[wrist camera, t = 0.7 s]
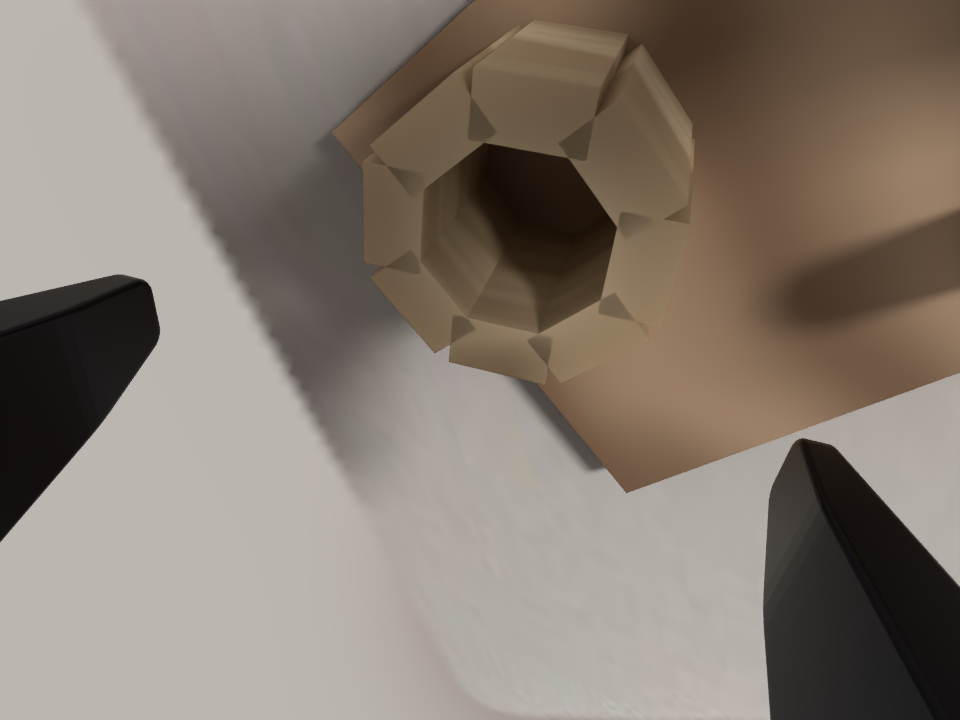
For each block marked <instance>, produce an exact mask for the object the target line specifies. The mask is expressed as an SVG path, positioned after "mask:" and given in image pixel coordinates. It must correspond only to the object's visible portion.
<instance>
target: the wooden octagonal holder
mask: <svg viewBox="0 0 960 720" xmlns="http://www.w3.org/2000/svg"><path fill="white" fill-rule="evenodd" d="M627 38H628V34H624V33H617V32H610V31H604V30H597V29H590V28H584V27H577V26H571V25H564V24H557V23H551V22H544V21H538V20H533V21H532V22H531V23H529V24H528V25H527V26H525V27H524V28H523V29H522V28H521V27H520V26H519V25H517V26H516V27H515V28H513V29H512V30H511V31H509V32H508V33H506V34H505V35H504V36H502V37H501V38H500V39H498V40H497V41H496V42H494V43H493V44H491V45H490V46H489V47H487V48H486V49H485V50H483V51H482V52H481V53H479V54H478V55H476V56H475V57H474V58H472V59H471V60H470V61H468V62H467V63H466V64H464V65H463V66H462V67H460V68H459V69H457V70H456V71H455V72H453V73H452V74H451V75H450V76H449V77H448V78H446V79H445V80H444V81H443V82H442V83H441V84H440V85H438V86H437V87H436V88H435V89H434V90H433V91H431V92H430V93H429V94H428V95H427V96H426V97H425V98H423V99H422V100H421V101H420V102H419V103H418V104H417V105H415V106H414V107H413V108H412V109H411V110H410V111H408V112H407V113H406V114H405V115H404V116H403V117H402V118H400V119H399V120H398V121H397V122H396V123H395V124H394V125H392V126H391V127H390V128H389V129H388V130H387V131H385V132H384V133H383V134H382V135H381V136H380V137H379V138H377V139H376V140H375V141H374V142H373V143H372V144H370V146H371V147H372V149H373V150H374V151H375V152H374V153H373V154H372V155H370V156H369V157H368V158H367V159H365V160H364V161H363V263H368V264H372V265H377V266H380V267H379V268H378V269H377V270H376V272H375V273H374V274H373V275H372V276H371V277H370V279H371V280H372V281H373V282H374V284H375V285H376V286H377V287H378V288H379V289H380V291H381V292H382V293H383V294H384V295H385V296H386V298H387V299H388V300H389V301H390V302H391V303H392V304H393V306H394V307H395V308H396V309H397V310H398V311H399V313H400V314H401V315H402V316H403V317H404V318H405V320H406V321H407V322H408V323H409V324H410V325H411V326H412V328H413V329H414V330H415V331H416V332H417V333H418V335H419V336H420V337H421V338H422V339H423V340H424V341H425V343H426V344H427V345H428V346H429V347H430V348H431V350H432V351H433V352H434V353H436V352H438V351H440V350H441V349H443V348H445V347H446V346H448V345H450V355H449V362H451V363H456V364H460V365H464V366H468V367H472V368H477V369H481V370H485V371H489V372H494V373H498V374H502V375H506V376H510V377H515V378H519V379H523V380H527V381H531V382H536V383H540V384H544V385H545V382H546V378H547V375H548V372H549V369H550V370H551V371H552V373H553V374H554V375H555V376H556V378H557V379H558V380H559V381H560V383H562V382H564V381H566V380H568V379H570V378H572V377H574V376H577V375H579V374H581V373H583V372H585V371H587V370H589V369H591V368H593V367H595V366H597V365H599V364H601V363H603V362H605V361H607V360H609V359H611V358H613V357H615V356H618V355H620V354H622V353H624V352H626V351H628V350H630V349H632V348H634V347H636V346H638V345H640V344H642V343H644V342H646V341H648V340H649V338H650V330H651V325H653V326H657V327H661V324H662V321H663V317H664V314H665V311H666V307H667V304H668V300H669V297H670V294H671V290H672V287H673V283H674V280H675V277H676V273H677V270H678V266H679V263H680V259H681V256H682V253H683V249H684V246H685V242H686V239H687V236H688V232H689V229H690V225H691V208H692V187H693V165H694V144H695V139H692V126H693V124H692V122H691V121H690V119H689V117H688V116H687V114H686V113H685V111H684V109H683V108H682V106H681V105H680V103H679V101H678V100H677V98H676V97H675V95H674V93H673V92H672V90H671V89H670V87H669V85H668V84H667V82H666V81H665V79H664V77H663V76H662V74H661V73H660V71H659V70H658V68H657V66H656V65H655V63H654V62H653V60H652V58H651V57H650V55H649V54H648V52H647V50H646V49H645V47H644V46H643V44H640V45H639V46H638V47H636V48H635V49H634V50H632V51H631V52H630V53H628V54H627V55H626V56H624V53H625V48H626V43H627ZM488 144H494V145H499V146H505V147H510V148H516V149H521V150H527V151H532V152H538V153H543V154H549V155H554V156H560V157H565V158H569V159H570V161H571V162H572V164H573V165H574V167H575V168H576V169H577V171H578V172H579V174H580V175H581V176H582V178H583V179H584V181H585V182H586V184H587V185H588V186H589V188H590V189H591V191H592V192H593V194H594V195H595V196H596V198H597V199H598V201H599V202H600V203H601V205H602V206H603V208H604V209H605V211H606V212H607V213H608V214H607V215H606V216H604V217H603V218H601V219H599V220H598V221H596V222H595V223H593V224H591V225H590V226H588V227H586V228H585V229H583V230H582V231H580V232H578V233H577V234H574V233H569V232H564V231H559V230H554V229H549V228H544V227H539V226H534V225H529V224H524V223H520V222H519V221H518V219H517V218H516V217H515V216H514V214H513V213H512V212H511V210H510V209H509V208H508V206H507V205H506V204H505V202H504V201H503V200H502V198H501V197H500V196H499V194H498V193H497V192H496V190H495V189H494V188H493V186H492V185H491V184H490V182H489V181H488V180H487V178H486V177H485V172H486V162H487V152H488Z"/></svg>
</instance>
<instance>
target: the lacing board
mask: <svg viewBox="0 0 960 720" xmlns="http://www.w3.org/2000/svg"><path fill="white" fill-rule="evenodd" d="M533 20H538V21H544V22H551V23H557V24H564V25H571V26H577V27H584V28H590V29H597V30H604V31H610V32H617V33H624V34H628V38H627V43H626V48H625V53H624V56H626V55H627V54H628V53H630V52H631V51H632V50H634V49H635V48H636V47H638V46H639V45H640V44H643V46H644V47H645V49H646V50H647V52H648V54H649V55H650V57H651V58H652V60H653V62H654V63H655V65H656V66H657V68H658V70H659V71H660V73H661V74H662V76H663V77H664V79H665V81H666V82H667V84H668V85H669V87H670V89H671V90H672V92H673V93H674V95H675V97H676V98H677V100H678V101H679V103H680V105H681V106H682V108H683V109H684V111H685V113H686V114H687V116H688V117H689V119H690V121H691V122H692V124H693V126H692V139H695V144H694V165H693V187H692V208H691V225H690V229H689V232H688V236H687V239H686V242H685V246H684V249H683V253H682V256H681V259H680V263H679V266H678V270H677V273H676V277H675V280H674V283H673V287H672V290H671V294H670V297H669V300H668V304H667V307H666V311H665V314H664V317H663V321H662V324H661V327H657V326H653V325H651V330H650V338H649V340H648V341H646V342H644V343H642V344H640V345H638V346H636V347H634V348H632V349H630V350H628V351H626V352H624V353H622V354H620V355H618V356H615V357H613V358H611V359H609V360H607V361H605V362H603V363H601V364H599V365H597V366H595V367H593V368H591V369H589V370H587V371H585V372H583V373H581V374H579V375H577V376H574V377H572V378H570V379H568V380H566V381H564V382H562V383H560V381H559V380H558V379H557V378H556V376H555V375H554V374H553V373H552V371H551V370H550V369H549V372H548V375H547V378H546V382H545V385H544V384H540V383H537V384H538V386H539V387H540V388H541V389H542V390H543V392H544V393H545V394H546V395H547V397H548V398H549V399H550V400H551V401H552V403H553V404H554V405H555V406H556V408H557V409H558V410H559V411H560V412H561V414H562V415H563V416H564V417H565V419H566V420H567V421H568V422H569V423H570V425H571V426H572V427H573V428H574V430H575V431H576V432H577V433H578V434H579V436H580V437H581V438H582V439H583V441H584V442H585V443H586V444H587V445H588V447H589V448H590V449H591V450H592V452H593V453H594V454H595V455H596V456H597V458H598V459H599V460H600V461H601V463H602V464H603V465H604V466H605V467H606V469H607V470H608V471H609V472H610V474H611V475H612V476H613V477H614V478H615V480H616V481H617V482H618V483H619V485H620V486H621V487H622V488H623V489H624V491H625V492H626V493H628V492H631V491H633V490H636V489H639V488H642V487H645V486H647V485H650V484H653V483H656V482H658V481H661V480H664V479H667V478H669V477H672V476H675V475H678V474H681V473H683V472H686V471H689V470H692V469H694V468H697V467H700V466H703V465H705V464H708V463H711V462H714V461H716V460H719V459H722V458H725V457H728V456H730V455H733V454H736V453H739V452H741V451H744V450H747V449H750V448H752V447H755V446H758V445H761V444H764V443H766V442H769V441H772V440H775V439H777V438H780V437H783V436H786V435H788V434H791V433H794V432H797V431H799V430H802V429H805V428H808V427H811V426H813V425H816V424H819V423H822V422H824V421H827V420H830V419H833V418H835V417H838V416H841V415H844V414H846V413H849V412H852V411H855V410H858V409H860V408H863V407H866V406H869V405H871V404H874V403H877V402H880V401H882V400H885V399H888V398H891V397H894V396H896V395H899V394H902V393H905V392H907V391H910V390H913V389H916V388H918V387H921V386H924V385H927V384H929V383H932V382H935V381H938V380H941V379H943V378H946V377H949V376H952V375H954V374H957V373H960V0H474V1H473V2H472V3H471V4H470V5H469V6H468V7H467V8H466V9H464V10H463V11H462V12H461V13H460V14H459V15H458V16H457V17H456V18H455V19H454V20H453V21H451V22H450V23H449V24H448V25H447V26H446V27H445V28H444V29H443V30H442V31H441V32H440V33H438V34H437V35H436V36H435V37H434V38H433V39H432V40H431V41H430V42H429V43H428V44H427V45H426V46H424V47H423V48H422V49H421V50H420V51H419V52H418V53H417V54H416V55H415V56H414V57H413V58H411V59H410V60H409V61H408V62H407V63H406V64H405V65H404V66H403V67H402V68H401V69H400V70H398V71H397V72H396V73H395V74H394V75H393V76H392V77H391V78H390V79H389V80H388V81H387V82H385V83H384V84H383V85H382V86H381V87H380V88H379V89H378V90H377V91H376V92H375V93H374V94H372V95H371V96H370V97H369V98H368V99H367V100H366V101H365V102H364V103H363V104H362V105H361V106H360V107H358V108H357V109H356V110H355V111H354V112H353V113H352V114H351V115H350V116H349V117H348V118H347V119H345V120H344V121H343V122H342V123H341V124H340V125H339V126H338V127H337V128H336V129H335V130H334V131H332V132H331V133H332V134H333V135H334V136H335V137H336V139H337V140H338V141H339V142H340V144H341V145H342V146H343V147H344V148H345V150H346V151H347V152H348V153H349V155H350V156H351V157H352V158H353V159H354V161H355V162H356V163H357V164H358V166H359V167H360V168H361V169H362V170H363V161H364V160H365V159H367V158H368V157H369V156H370V155H372V154H373V153H374V152H375V151H374V150H373V149H372V147H371V146H370V144H372V143H373V142H374V141H375V140H376V139H377V138H379V137H380V136H381V135H382V134H383V133H384V132H385V131H387V130H388V129H389V128H390V127H391V126H392V125H394V124H395V123H396V122H397V121H398V120H399V119H400V118H402V117H403V116H404V115H405V114H406V113H407V112H408V111H410V110H411V109H412V108H413V107H414V106H415V105H417V104H418V103H419V102H420V101H421V100H422V99H423V98H425V97H426V96H427V95H428V94H429V93H430V92H431V91H433V90H434V89H435V88H436V87H437V86H438V85H440V84H441V83H442V82H443V81H444V80H445V79H446V78H448V77H449V76H450V75H451V74H452V73H453V72H455V71H456V70H457V69H459V68H460V67H462V66H463V65H464V64H466V63H467V62H468V61H470V60H471V59H472V58H474V57H475V56H476V55H478V54H479V53H481V52H482V51H483V50H485V49H486V48H487V47H489V46H490V45H491V44H493V43H494V42H496V41H497V40H498V39H500V38H501V37H502V36H504V35H505V34H506V33H508V32H509V31H511V30H512V29H513V28H515V27H516V26H517V25H519V26H520V27H521V28H522V29H523V28H524V27H525V26H527V25H528V24H529V23H531V22H532V21H533ZM485 177H486V178H487V180H488V181H489V182H490V184H491V185H492V186H493V188H494V189H495V190H496V192H497V193H498V194H499V196H500V197H501V198H502V200H503V201H504V202H505V204H506V205H507V206H508V208H509V209H510V210H511V212H512V213H513V214H514V216H515V217H516V218H517V219H518V221H519V222H520V223H524V224H529V225H534V226H539V227H544V228H549V229H554V230H559V231H564V232H569V233H574V234H577V233H578V232H580V231H582V230H583V229H585V228H586V227H588V226H590V225H591V224H593V223H595V222H596V221H598V220H599V219H601V218H603V217H604V216H606V215H607V214H608V213H607V212H606V211H605V209H604V208H603V206H602V205H601V203H600V202H599V201H598V199H597V198H596V196H595V195H594V194H593V192H592V191H591V189H590V188H589V186H588V185H587V184H586V182H585V181H584V179H583V178H582V176H581V175H580V174H579V172H578V171H577V169H576V168H575V167H574V165H573V164H572V162H571V161H570V159H569V158H565V157H560V156H554V155H549V154H543V153H538V152H532V151H527V150H521V149H516V148H510V147H505V146H499V145H494V144H488V152H487V162H486V172H485Z"/></svg>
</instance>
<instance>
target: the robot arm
mask: <svg viewBox="0 0 960 720" xmlns="http://www.w3.org/2000/svg"><path fill="white" fill-rule="evenodd" d="M159 335H160V327H159V322H158V316H157V312H156V307H155V302H154V298H153V293H152V289H151V287H150V286H149V284H148V283H147V282H146V281H144V280H142V279H138V278H134V277H130V276H125V275H112V276H108V277H103V278H99V279H95V280H90V281H86V282H82V283H77V284H73V285H69V286H64V287H60V288H55V289H51V290H47V291H43V292H38V293H34V294H29V295H25V296H20V297H16V298H12V299H8V300H3V301H0V542H1V541H2V540H3V538H4V537H5V536H6V535H7V534H8V533H9V531H10V530H11V529H12V528H13V527H14V526H15V524H16V523H17V522H18V521H19V520H20V519H21V517H22V516H23V515H24V514H25V513H26V511H27V510H28V509H29V508H30V507H31V506H32V504H33V503H34V502H35V501H36V500H37V499H38V497H39V496H40V495H41V494H42V493H43V491H45V489H46V488H47V487H48V486H49V485H50V484H51V482H52V481H53V480H54V479H55V478H56V476H57V475H58V474H59V473H60V472H61V471H62V470H63V468H64V467H65V466H66V465H67V464H68V463H69V461H70V460H71V459H72V458H73V457H74V456H75V454H76V453H77V452H78V451H79V450H80V449H81V447H82V446H83V445H84V444H85V442H87V440H88V439H89V438H90V437H91V436H92V434H93V433H94V432H95V431H96V430H97V428H98V427H99V426H100V425H101V423H102V422H103V421H104V419H105V418H106V416H107V415H108V414H109V412H110V411H111V410H112V408H113V407H114V405H115V404H116V402H117V401H118V399H119V398H120V396H121V395H122V393H123V392H124V391H125V389H126V388H127V386H128V385H129V383H130V382H131V381H132V379H133V378H134V376H135V375H136V373H137V372H138V371H139V369H140V368H141V366H142V365H143V363H144V362H145V360H146V359H147V357H148V356H149V355H150V353H151V352H152V350H153V349H154V347H155V346H156V344H157V342H158V339H159ZM763 618H764V636H765V650H766V664H767V677H768V691H769V705H770V719H771V720H960V586H959V585H958V584H957V583H956V582H955V581H954V580H953V578H952V577H951V576H950V575H949V574H948V573H947V572H946V571H945V569H944V568H943V567H942V566H941V565H940V564H939V563H938V562H937V561H936V559H935V558H934V557H933V556H932V555H931V554H930V553H929V552H928V550H927V549H926V548H925V547H924V546H923V545H922V544H921V543H920V542H919V540H918V539H917V538H916V537H915V536H914V535H913V534H912V533H911V531H910V530H909V529H908V528H907V527H906V526H905V525H904V524H903V523H902V521H901V520H900V519H899V518H898V517H897V516H896V515H895V514H894V512H893V511H892V510H891V509H890V508H889V507H888V506H887V505H886V504H885V502H884V501H883V500H882V499H881V498H880V497H879V496H878V495H877V494H876V492H875V491H874V490H873V489H872V488H871V487H870V486H869V485H868V483H867V482H866V481H865V480H864V479H863V478H862V477H861V476H860V475H859V473H858V472H857V471H856V470H855V469H854V468H853V467H852V466H851V464H850V463H849V462H848V461H847V460H846V459H845V458H844V457H843V456H842V454H841V453H840V452H839V451H838V450H837V449H836V448H835V447H833V446H832V445H829V444H825V443H821V442H817V441H812V440H808V439H804V438H801V439H799V440H797V441H796V442H795V443H794V444H793V445H792V447H791V449H790V451H789V453H788V455H787V457H786V459H785V461H784V463H783V465H782V467H781V469H780V471H779V473H778V475H777V477H776V479H775V481H774V483H773V486H772V489H771V493H770V498H769V508H768V525H767V543H766V561H765V578H764V599H763Z"/></svg>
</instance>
